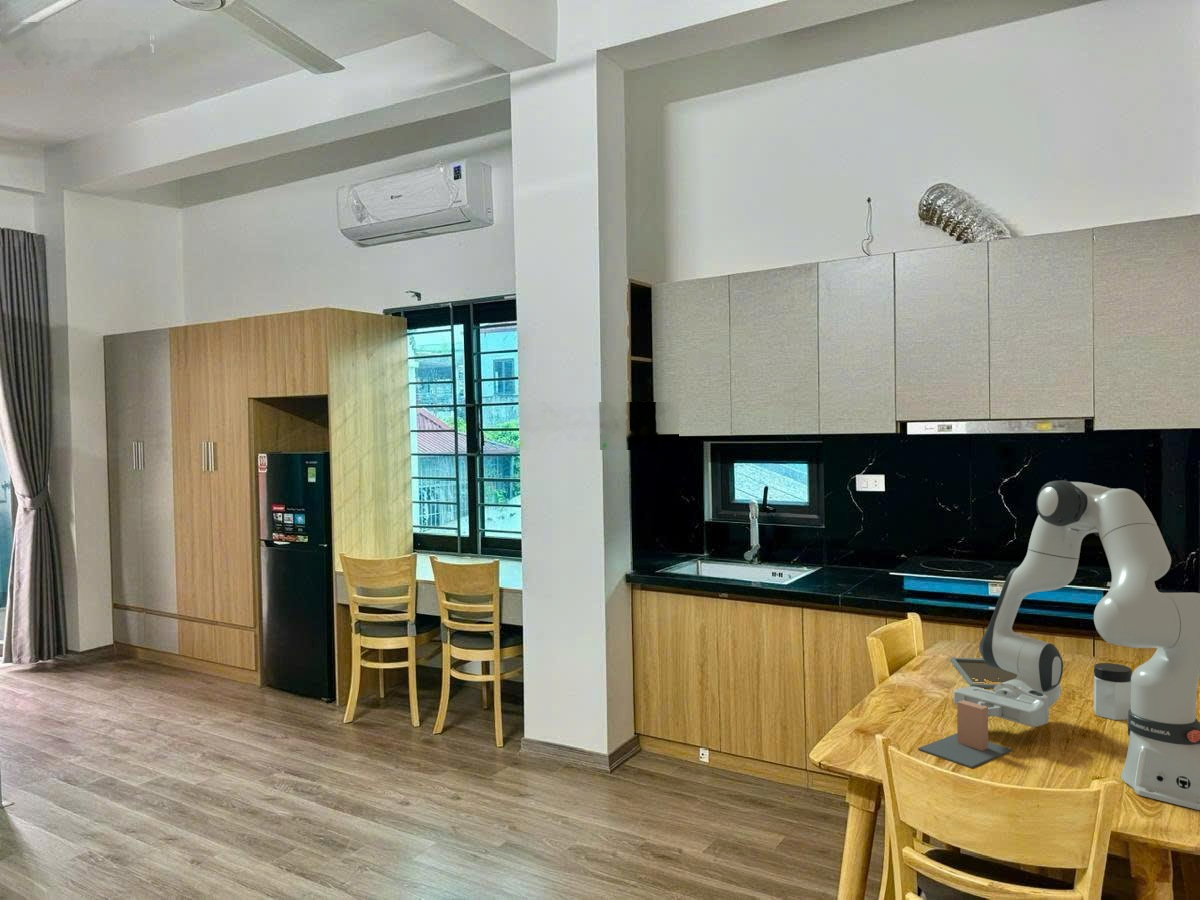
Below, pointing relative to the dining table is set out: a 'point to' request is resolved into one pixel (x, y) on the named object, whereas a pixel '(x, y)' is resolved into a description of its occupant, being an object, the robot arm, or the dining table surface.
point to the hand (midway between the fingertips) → (979, 712)
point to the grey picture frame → (980, 672)
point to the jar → (1112, 690)
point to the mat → (963, 751)
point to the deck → (972, 725)
